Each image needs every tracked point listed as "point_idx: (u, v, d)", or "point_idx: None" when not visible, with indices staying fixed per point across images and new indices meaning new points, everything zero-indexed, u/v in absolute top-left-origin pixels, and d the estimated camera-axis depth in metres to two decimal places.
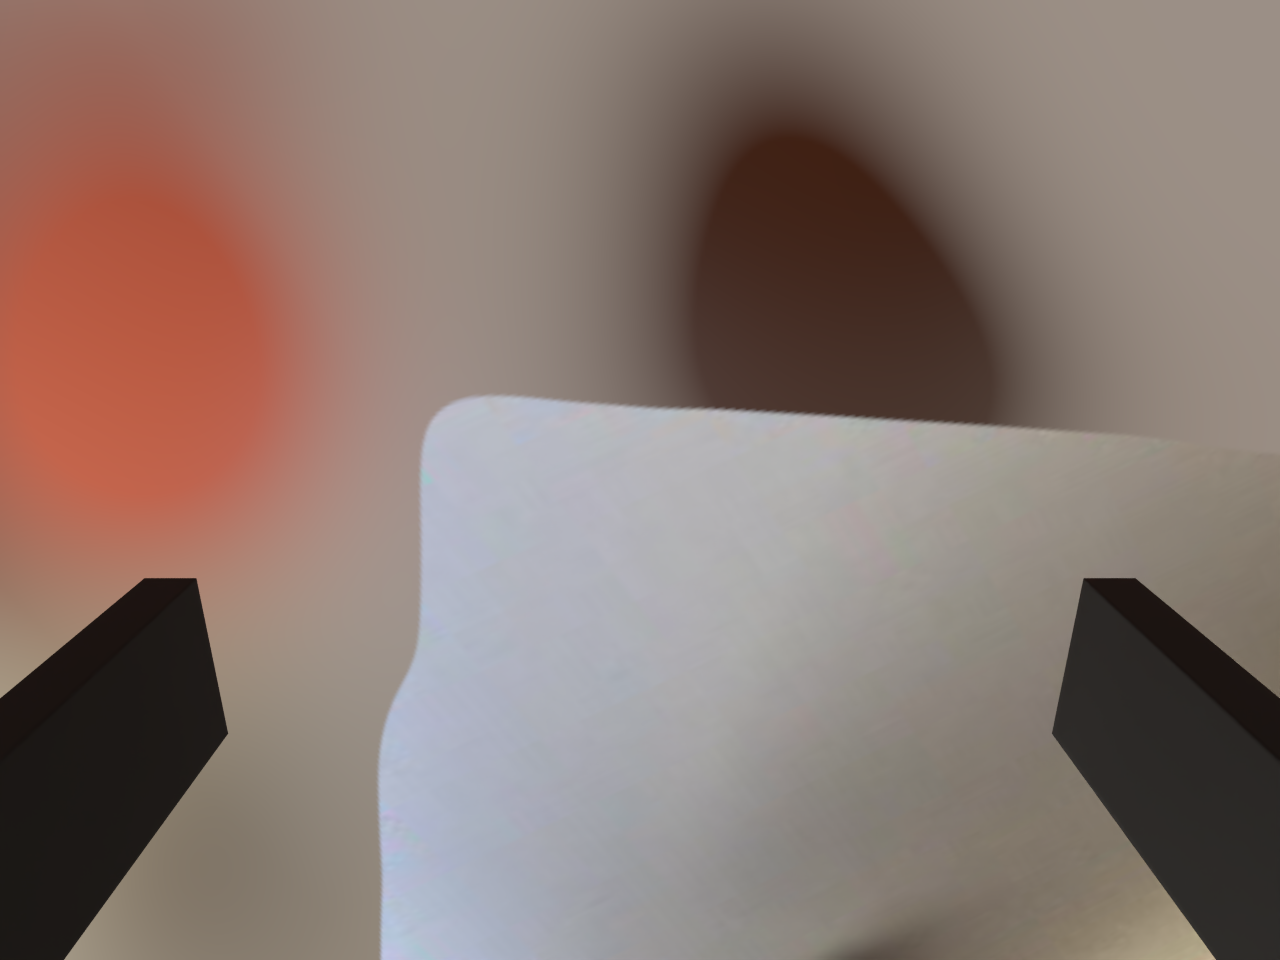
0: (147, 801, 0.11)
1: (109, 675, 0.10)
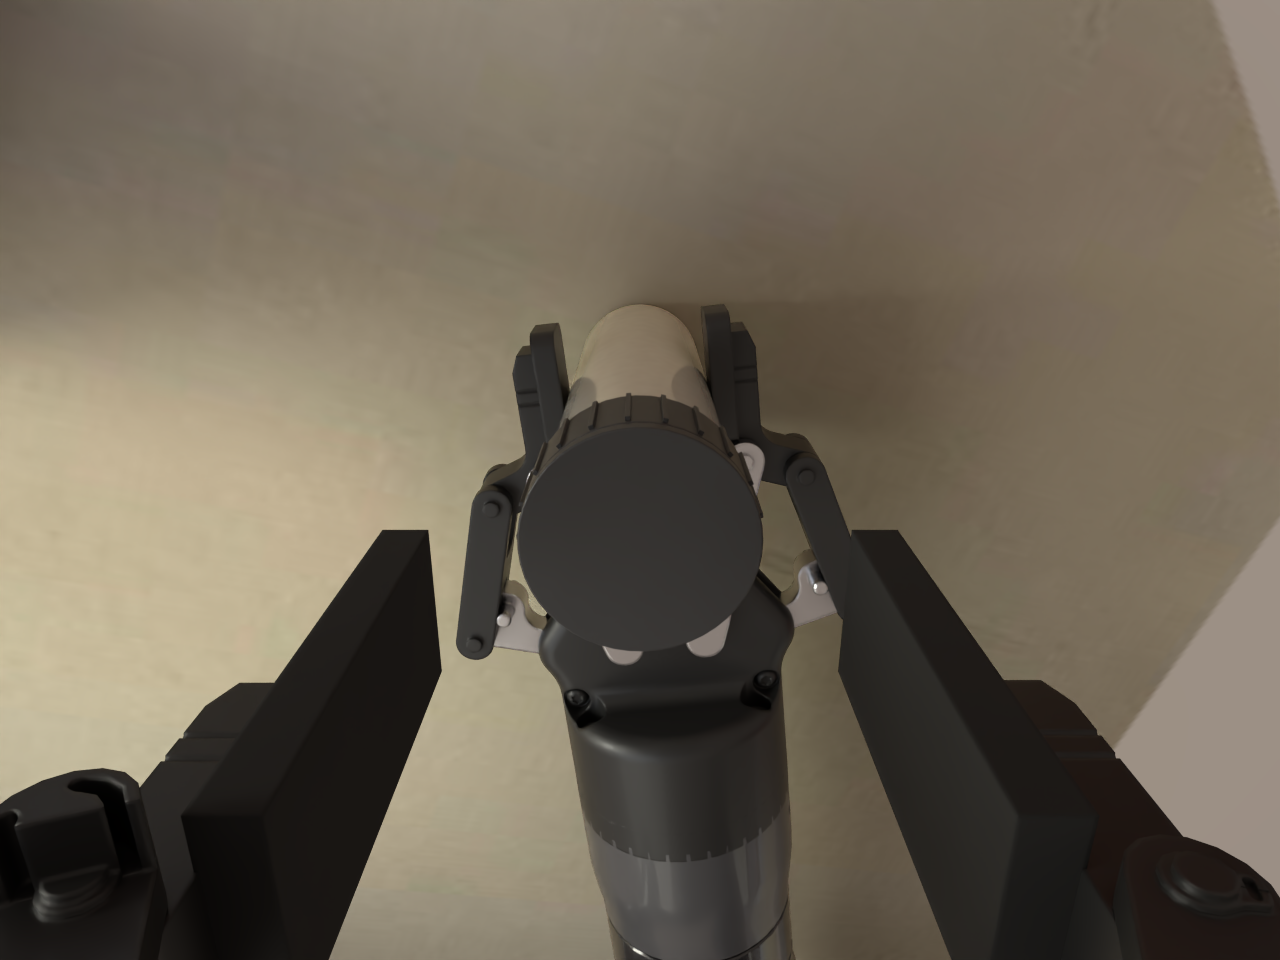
0: (408, 719, 0.13)
1: (393, 605, 0.12)
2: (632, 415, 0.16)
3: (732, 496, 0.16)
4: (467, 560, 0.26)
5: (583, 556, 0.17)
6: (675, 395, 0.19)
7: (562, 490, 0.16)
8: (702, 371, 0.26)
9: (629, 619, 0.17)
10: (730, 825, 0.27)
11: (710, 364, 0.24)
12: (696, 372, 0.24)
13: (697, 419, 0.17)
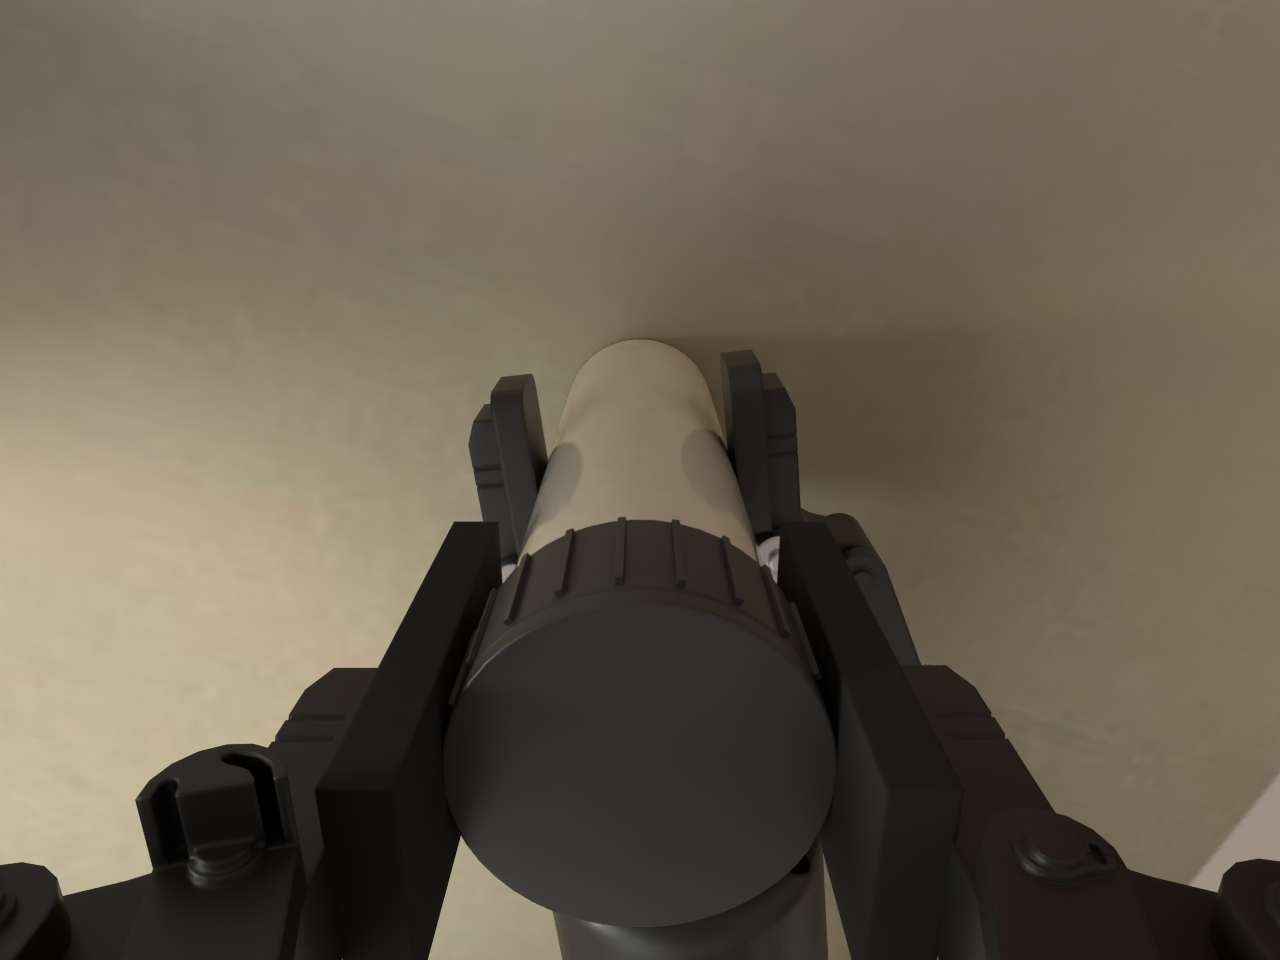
0: None
1: (476, 593, 0.12)
2: (627, 568, 0.10)
3: (790, 707, 0.10)
4: None
5: (548, 794, 0.10)
6: (691, 505, 0.13)
7: (512, 698, 0.10)
8: (722, 436, 0.20)
9: (622, 883, 0.11)
10: None
11: (735, 434, 0.18)
12: (716, 446, 0.18)
13: (730, 569, 0.11)
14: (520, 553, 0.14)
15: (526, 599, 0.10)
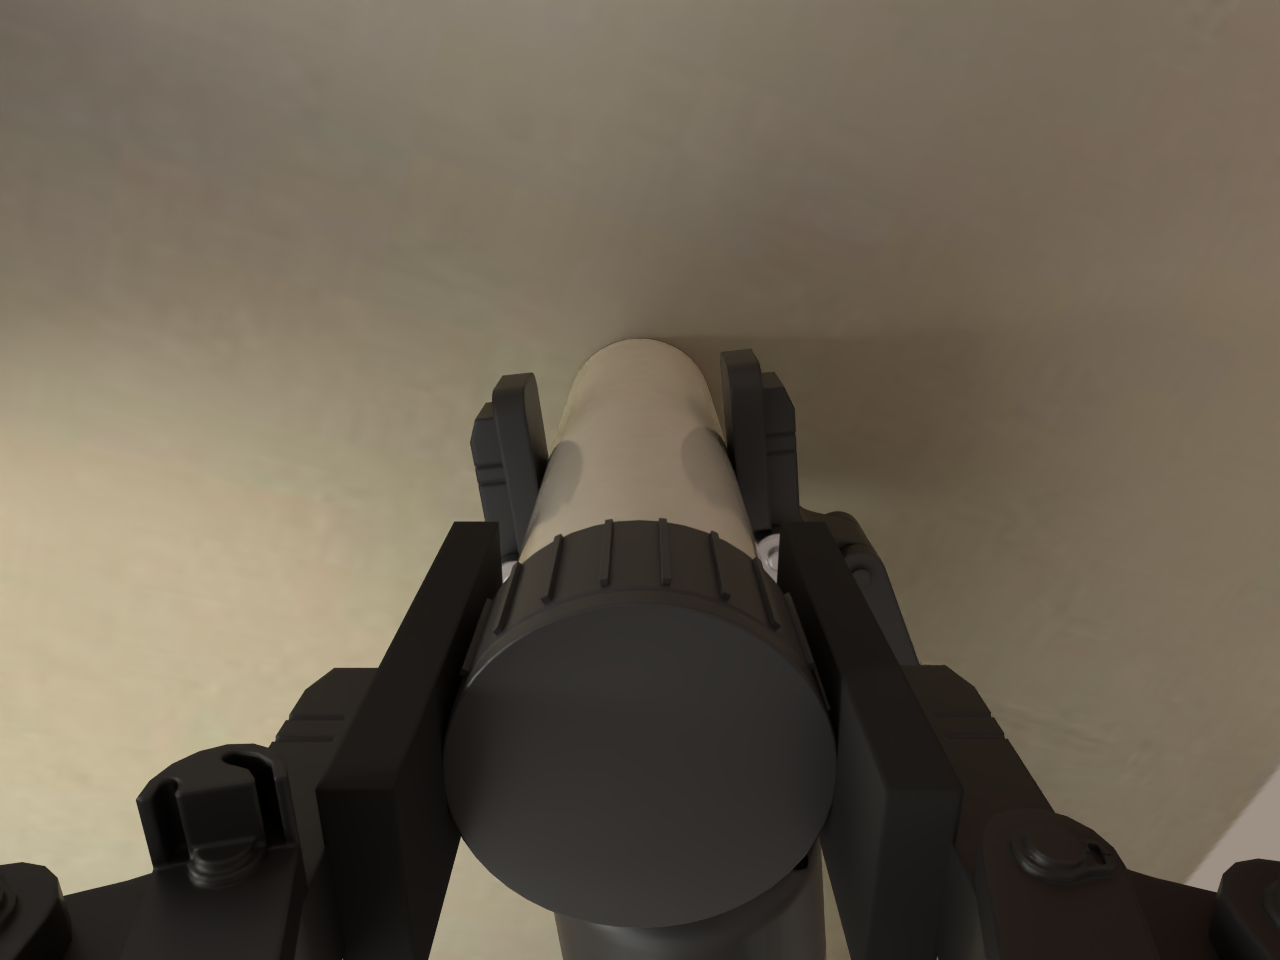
0: None
1: (475, 593, 0.12)
2: None
3: (599, 636, 0.10)
4: None
5: (631, 853, 0.11)
6: (691, 502, 0.13)
7: (517, 849, 0.11)
8: (721, 435, 0.20)
9: (761, 824, 0.10)
10: None
11: (734, 432, 0.18)
12: (716, 444, 0.18)
13: (502, 601, 0.11)
14: (522, 549, 0.14)
15: None
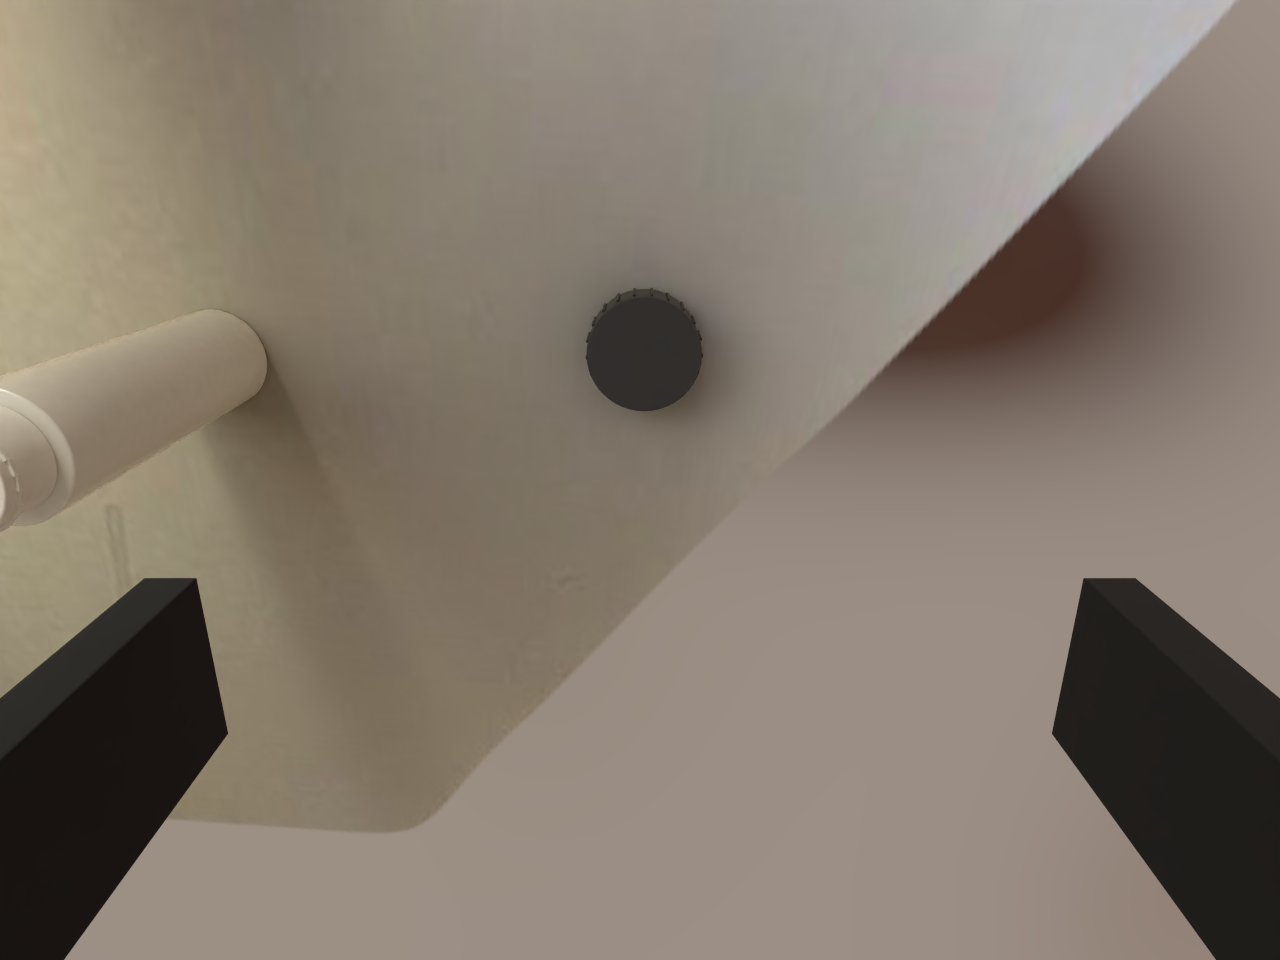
0: (147, 801, 0.11)
1: (109, 675, 0.10)
2: None
3: (633, 307, 0.34)
4: None
5: (641, 382, 0.36)
6: (97, 452, 0.26)
7: (607, 380, 0.36)
8: (193, 430, 0.33)
9: (680, 371, 0.35)
10: None
11: None
12: (171, 435, 0.31)
13: (603, 308, 0.36)
14: (31, 372, 0.26)
15: None
